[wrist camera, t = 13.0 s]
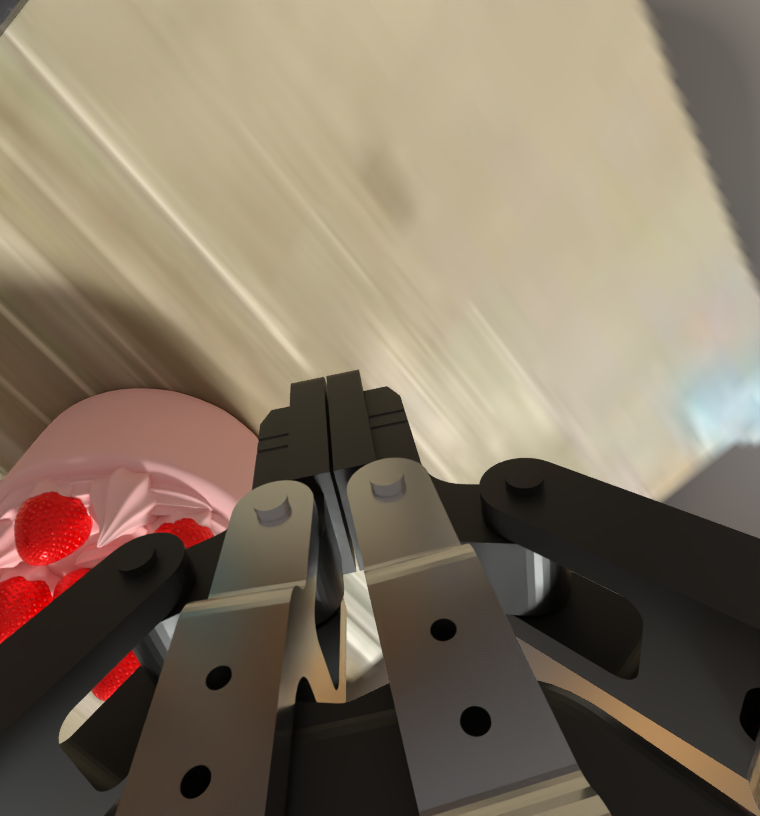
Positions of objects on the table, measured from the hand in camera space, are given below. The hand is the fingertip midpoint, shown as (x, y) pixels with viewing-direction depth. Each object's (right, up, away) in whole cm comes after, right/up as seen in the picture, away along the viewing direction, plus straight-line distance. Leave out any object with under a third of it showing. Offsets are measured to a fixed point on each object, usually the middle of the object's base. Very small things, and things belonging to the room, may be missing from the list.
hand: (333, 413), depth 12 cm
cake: (-17, -7, +35) cm, 39 cm away
